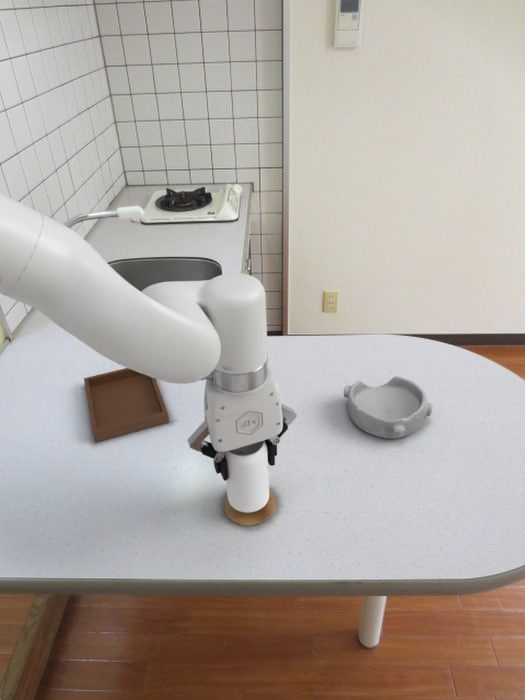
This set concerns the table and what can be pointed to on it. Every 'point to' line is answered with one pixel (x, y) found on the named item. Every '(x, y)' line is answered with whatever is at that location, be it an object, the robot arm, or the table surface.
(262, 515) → the coaster
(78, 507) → the table surface
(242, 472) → the can
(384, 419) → the dish
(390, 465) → the table surface
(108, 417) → the tray
